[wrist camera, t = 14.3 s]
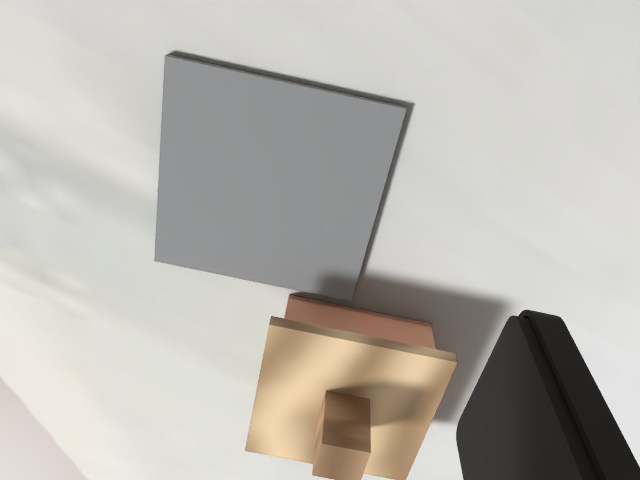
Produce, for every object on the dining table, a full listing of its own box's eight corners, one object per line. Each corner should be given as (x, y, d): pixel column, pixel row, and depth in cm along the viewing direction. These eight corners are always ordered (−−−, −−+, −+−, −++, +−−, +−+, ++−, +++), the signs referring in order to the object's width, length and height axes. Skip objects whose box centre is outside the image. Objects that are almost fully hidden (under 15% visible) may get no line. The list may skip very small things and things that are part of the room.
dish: (431, 323, 44) (437, 361, 40) (392, 421, 50) (395, 462, 46) (289, 294, 44) (282, 329, 40) (267, 396, 50) (259, 435, 46)
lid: (455, 353, 40) (469, 415, 35) (404, 471, 47) (409, 538, 42) (271, 316, 39) (257, 374, 34) (247, 441, 46) (232, 505, 41)
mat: (406, 106, 36) (406, 109, 35) (351, 297, 44) (351, 301, 43) (167, 54, 35) (164, 55, 34) (156, 257, 43) (154, 261, 42)
